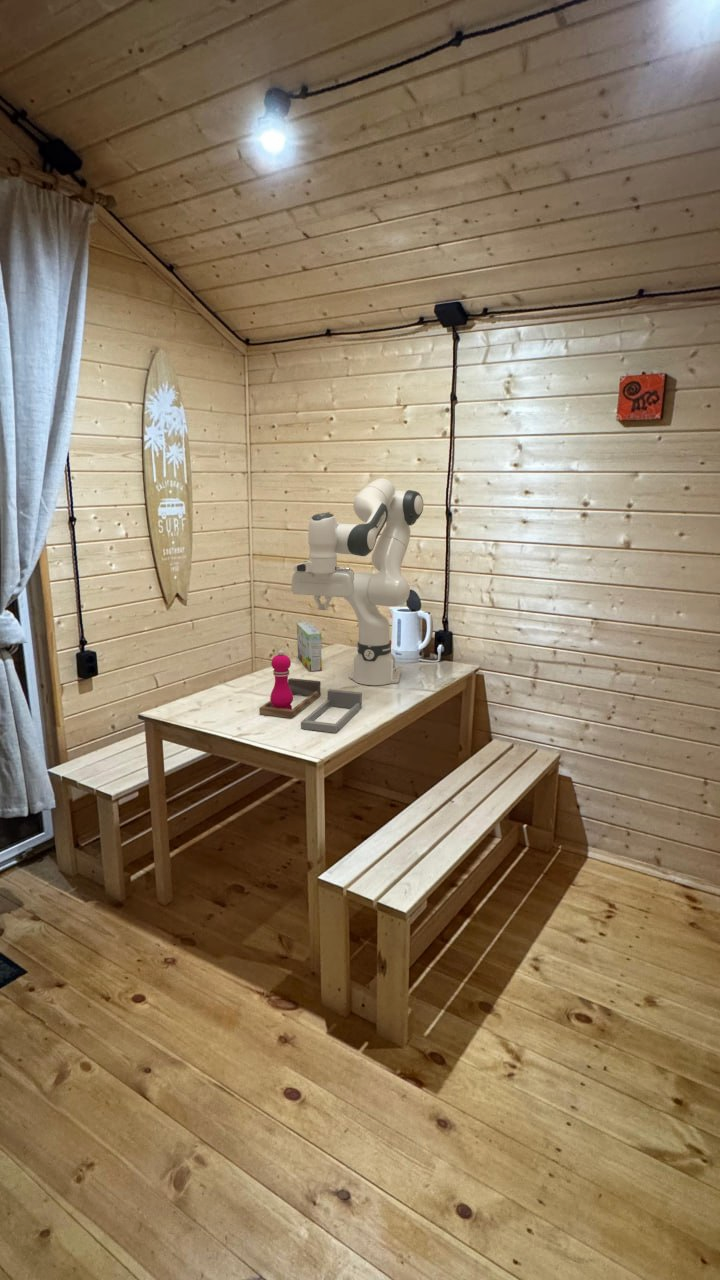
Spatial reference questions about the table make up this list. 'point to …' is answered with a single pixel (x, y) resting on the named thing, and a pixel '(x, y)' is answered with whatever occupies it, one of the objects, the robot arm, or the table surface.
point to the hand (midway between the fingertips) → (322, 609)
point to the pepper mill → (281, 682)
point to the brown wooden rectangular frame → (297, 688)
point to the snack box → (309, 646)
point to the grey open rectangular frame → (338, 700)
